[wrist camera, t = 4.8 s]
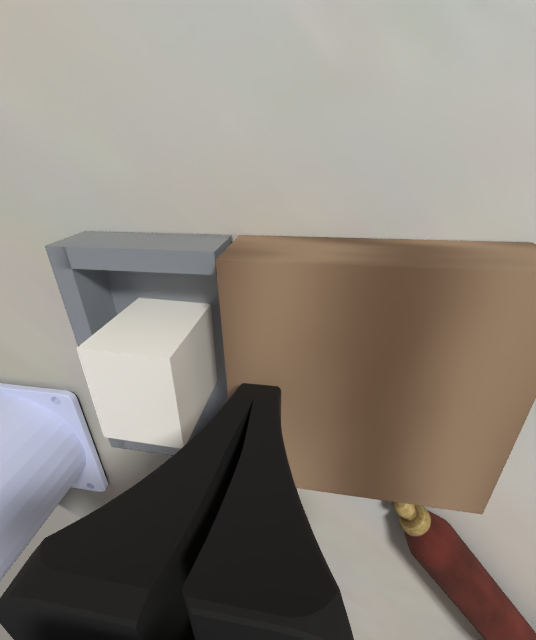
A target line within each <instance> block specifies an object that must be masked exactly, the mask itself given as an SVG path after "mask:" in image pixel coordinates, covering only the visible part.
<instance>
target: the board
mask: <svg viewBox="0 0 536 640" xmlns="http://www.w3.org/2000/svg"><path fill="white" fill-rule="evenodd" d="M216 271H217V282H218V293H219V303H220V314H221V325H222V336H223V346H224V357H225V368H226V378H227V389H228V399H229V398H230V397H231V396H232V395H233V393H234V392H235V391H236V390H237V388H238V387H239V386H240V385H241V384H242V383H249V384H260V385H270V386H278V387H279V388H280V389H281V429H282V435H283V441H284V446H285V450H286V454H287V459H288V462H289V466H290V470H291V473H292V477H293V480H294V483H295V486H296V488H300V489H307V490H314V491H321V492H328V493H335V494H343V495H350V496H357V497H364V498H371V499H378V500H385V501H392V502H399V503H406V504H413V505H420V506H427V507H434V508H441V509H448V510H455V511H462V512H470V513H477V514H483V512H484V510H485V507H486V505H487V503H488V501H489V499H490V497H491V494H492V492H493V490H494V488H495V486H496V483H497V481H498V479H499V477H500V475H501V473H502V470H503V468H504V466H505V464H506V462H507V459H508V457H509V455H510V453H511V451H512V449H513V446H514V444H515V442H516V440H517V438H518V435H519V433H520V431H521V429H522V427H523V425H524V422H525V420H526V418H527V416H528V414H529V411H530V409H531V407H532V405H533V403H534V400H535V398H536V244H534V243H528V242H488V241H448V240H409V239H369V238H330V237H290V236H251V235H239V236H238V237H237V238H236V239H235V240H234V241H233V242H232V243H231V244H230V245H229V246H228V247H227V248H226V249H225V250H224V252H223V253H222V254H221V255H220V256H219V257H218V258H217V259H216Z"/></svg>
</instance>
